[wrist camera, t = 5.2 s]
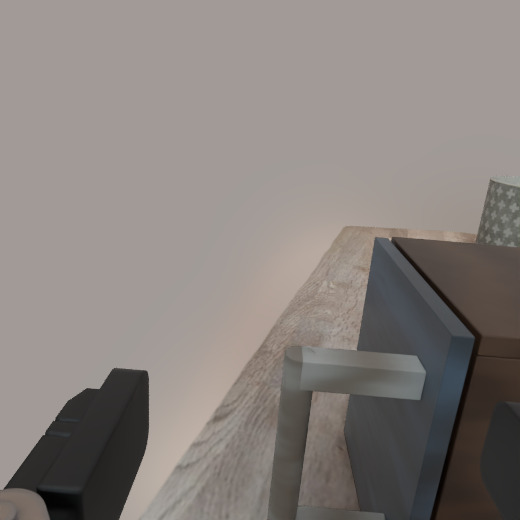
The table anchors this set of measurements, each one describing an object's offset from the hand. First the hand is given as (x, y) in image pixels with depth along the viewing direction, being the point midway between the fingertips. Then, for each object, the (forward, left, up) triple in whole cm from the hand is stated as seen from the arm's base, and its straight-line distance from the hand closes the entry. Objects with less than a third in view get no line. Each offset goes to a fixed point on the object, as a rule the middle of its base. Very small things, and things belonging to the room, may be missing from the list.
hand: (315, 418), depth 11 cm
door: (+12, +12, -19) cm, 26 cm away
